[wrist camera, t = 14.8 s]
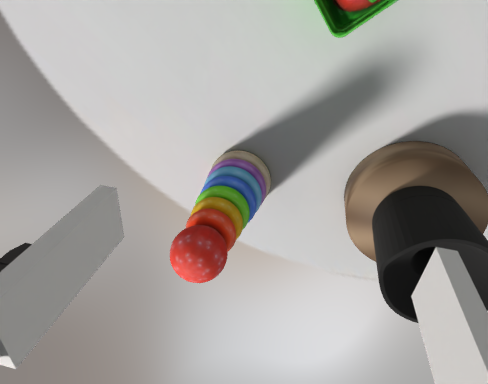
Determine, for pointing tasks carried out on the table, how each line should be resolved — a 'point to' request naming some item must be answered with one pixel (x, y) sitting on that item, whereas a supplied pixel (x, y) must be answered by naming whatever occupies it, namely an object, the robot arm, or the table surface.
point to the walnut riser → (408, 185)
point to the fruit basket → (349, 13)
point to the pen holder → (423, 243)
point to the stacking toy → (220, 215)
